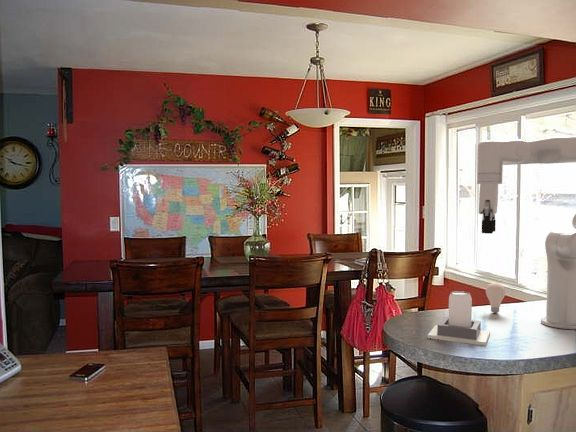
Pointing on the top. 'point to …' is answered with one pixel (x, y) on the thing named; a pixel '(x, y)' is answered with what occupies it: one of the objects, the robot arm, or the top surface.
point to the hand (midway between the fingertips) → (488, 232)
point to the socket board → (460, 333)
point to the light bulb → (495, 296)
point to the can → (460, 309)
